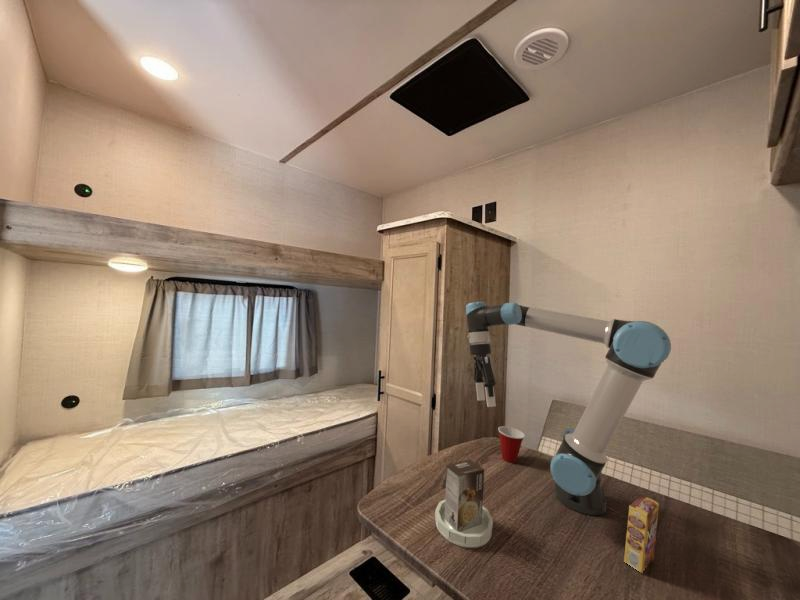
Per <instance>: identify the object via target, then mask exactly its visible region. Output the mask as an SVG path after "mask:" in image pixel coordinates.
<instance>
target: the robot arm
mask: <svg viewBox="0 0 800 600" xmlns="http://www.w3.org/2000/svg"><path fill="white" fill-rule="evenodd" d="M465 309H466V310H465V318H466V323H467V333H468V335H467V339H468V342H469V344H470V345H469V354H470V355H471V356H474V357H473V380H474V382H475V387H476V399H477V401H478V402H479V401H486V405H487V408H493V407H497V405H496V395H495V388H494V387H495V386H496V384H497V383H496V380H495V376H494V371H493V368H492V363H491V359H490V356H487V355H491V354H492V348H491V347H492V346H491V343H490V342H491V337H490V330H489V328H490V327H499V326H509V325H510V326H511V325H516V326H522V327H524V328H525V327H526V328H531V329H535V330H540V331H544V332H549V333H554V334H558V335H561V336H562V335H563V336H567V337H571V338H577V339H581V340H585V341H589V342H590V341H591V342H594V343H599V344H602V345H603V344H604V345H605V346H606V347H607V348H608V350H607V352H606V355H605V356H604V360H605V361H606V363H607V367H606V368H605V371H604V372H603V374H602V376H601V378H600V380H599V382H598V384H597V386H596V388H595V390H594V391H593V394H592V395H591V397H590V400H589V402H588V403H587V405H586V407H585V409H584V412H583V413H582V415H581V417H580V419H579V421H578V423H577V425H576V427H575V428H574V427H569V428H567V427H566V428H564V429H563V433H562V438H563V439H562V441H561V443H560V445H559V447H558V449H557V450H556V453H555V455H554V456H553V457H552V458H551V459H550V460H551V461H550V466H549V467H550V468H549V469H550V474H551V476H552V478H553V480H554V482H555V484H554V489H553V490H554V496H555V497H556V498H557V500H558V501H559V502H560V503H562V505H564V506H565V507H568V508H569V509H571V510H573V511H576V512H577V513H580V514H584V515H588V516H601V515H604V514H605V513H606V511H607V500H606V496H605V492H604V489H603V486H602V473H603V472H602V471H603V469H604V467H605V465H606V464H607V462H608V458H607V455H606V453H605V451H606V450H607V448H608V446H609V444H610V442H611V441H612V439H613V437H614V435H615V433H616V431H617V429H618V428H619V427H620V424H621V422H622V420H623V418H624V417H625V415H626V413H627V411H628V410H629V408H630V406H631V404H632V402H633V400H634V399H635V397H636V395H637V393H638V391H639V390H640V388H641V386H642V384H643V382H644V381H648V380H653V379H654V377H655V375H656V374H657V372H658V370H659V368H660V367H661V365H662V363H664V362H665V361H666V360H667V359H668V357H669V355H670V353H671V349H672V346H671V340H670V338H669V337H670V336H669V335H668V333H667V332H666V331H665V330H664V329H663V328H662V327H660V326H658V325H656V324H655V323H652V322H650V321H644V320H624V319H616V318H613V319H611V320H603V319H598V318H597V319H596V318H593V317H587V316H583V315H582V316H581V315H577V314H576V315H575V314H570V313H564V312H558V311H552V310H548V309H541V308H536V307H528V306H524V305H522V304H521V305H520V304H519V303H517V302H506V303H501V304H494V305H489V306H487V304H486V302H485V301H476V302H475V301H474V302H470V303H467V304H466V306H465Z"/></svg>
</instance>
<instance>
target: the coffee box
mask: <svg viewBox="0 0 800 600" xmlns="http://www.w3.org/2000/svg"><path fill="white" fill-rule="evenodd" d="M484 480H485V468H483V467H482V466H480V465H479V464H477V463H476V462H474V461H473V460H472V459H465V460H462V461H458V462H453V463H450V464H446V477H445V498H444V499H445V517H444V518H445V520H446V521H447V522H448V523H449V524H450V525H451V527H452V528H453V529H454V530H456V531H459V532H461V531H464V530H466V529H469V528H472V527H475V526H477V525H480V524H482V507H484V505H483V502H484V484H485V483H484V482H485V481H484Z"/></svg>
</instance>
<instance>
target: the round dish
mask: <svg viewBox="0 0 800 600" xmlns="http://www.w3.org/2000/svg"><path fill="white" fill-rule="evenodd" d="M444 517H445V498H444V499H443V500H441V501H439V502H438V504H437V506H436V508H435V512H434V519H435V527H436V528H437V531H438V532H439V533H440V535H441V536H442V537H443V538H444V539H445V540H447V541H448V542H450V543H452V544H454V545H456V546H458V547H461V548H466V549H468V548H469V549H475V548H480V547H484V546H485V545H487V544H488V543H489V541H490V540H491V538H492V535H493V528H494V527H493V526H494V525H493V524H494V519H493V517H492V515H491V513H490V512H489V510H488V509H487V508H486V507H485V506H483V507H482V524H480V525H477V526H475V527H472V528H469V529H466V530H464V531H461V532H459V531H456V530H454V529H453V528H452V527H451V525H450V524H449V523H448V522H447V521H446V520H445V518H444Z"/></svg>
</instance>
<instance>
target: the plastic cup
mask: <svg viewBox="0 0 800 600" xmlns="http://www.w3.org/2000/svg"><path fill="white" fill-rule="evenodd" d="M497 429H498V434H499V442H500V444H499V445H500V451H501V459H502V460H503V461H505V462H506V463H510V464H511V463H512V464H513V463H516V462H517V460H518V456H519V453H520V450H521V446H522V442H523V440H524V439H525V437H526V435H525V433H524V432H522V431H521V430H520V429H517V428H514V427H512V426H507V425H506V426H505V425H502V426H499V427H498V428H497Z"/></svg>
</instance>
